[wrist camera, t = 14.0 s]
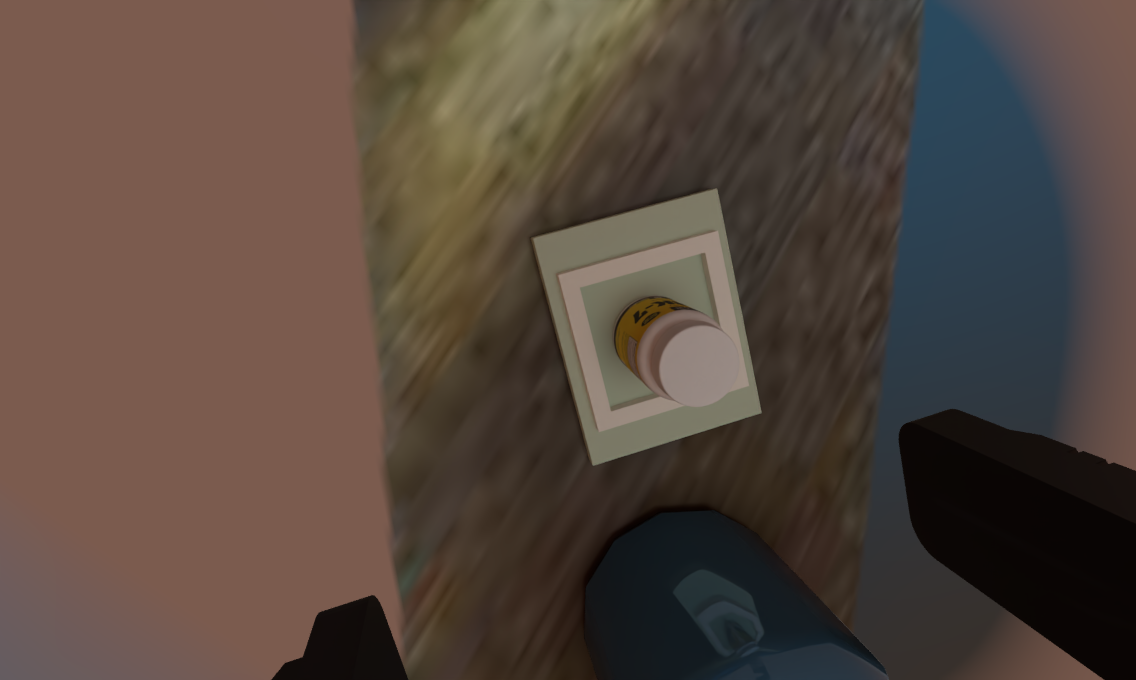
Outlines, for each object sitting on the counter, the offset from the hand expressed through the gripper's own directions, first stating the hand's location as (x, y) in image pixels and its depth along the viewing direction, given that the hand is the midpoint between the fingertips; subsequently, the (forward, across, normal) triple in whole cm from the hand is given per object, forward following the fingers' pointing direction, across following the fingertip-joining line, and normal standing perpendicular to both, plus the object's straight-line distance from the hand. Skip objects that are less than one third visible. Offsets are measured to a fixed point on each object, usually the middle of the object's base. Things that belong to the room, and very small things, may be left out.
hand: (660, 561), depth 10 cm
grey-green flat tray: (+30, -8, +4) cm, 31 cm away
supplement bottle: (+29, -8, +4) cm, 30 cm away
